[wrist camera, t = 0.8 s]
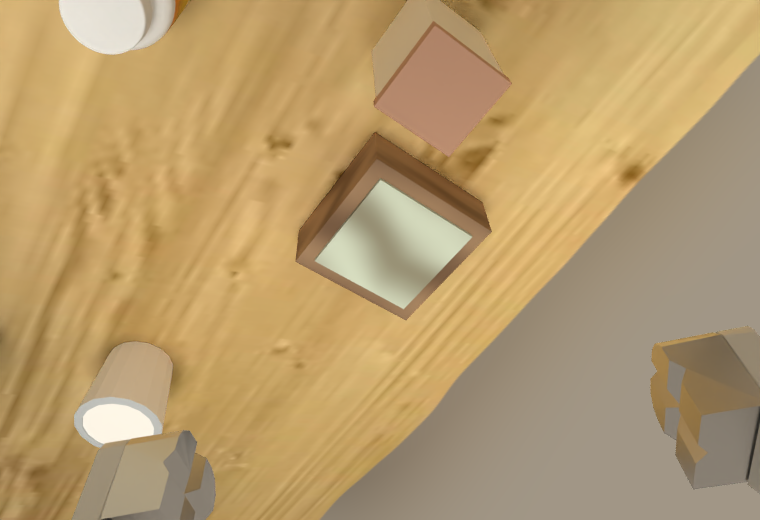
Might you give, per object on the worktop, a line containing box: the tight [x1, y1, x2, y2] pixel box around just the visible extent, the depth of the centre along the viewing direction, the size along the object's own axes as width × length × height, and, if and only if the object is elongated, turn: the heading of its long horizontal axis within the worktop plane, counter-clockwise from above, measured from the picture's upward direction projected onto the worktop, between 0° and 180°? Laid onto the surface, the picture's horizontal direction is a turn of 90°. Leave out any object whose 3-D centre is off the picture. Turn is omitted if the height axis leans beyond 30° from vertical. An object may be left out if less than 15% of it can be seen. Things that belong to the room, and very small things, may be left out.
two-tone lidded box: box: [372, 0, 512, 157], centre depth 38 cm, size 5×5×9 cm
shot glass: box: [74, 341, 173, 448], centre depth 55 cm, size 7×7×7 cm
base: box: [296, 133, 492, 320], centre depth 48 cm, size 10×10×4 cm
